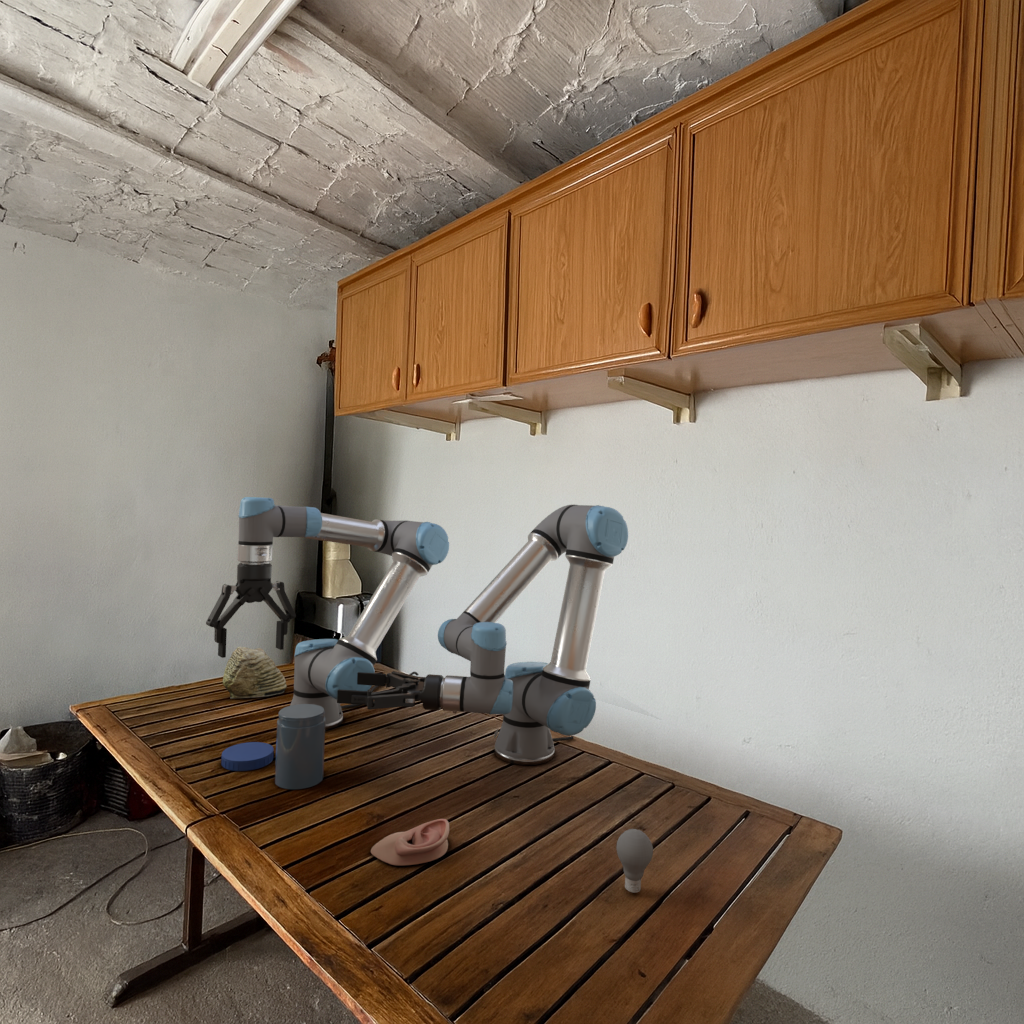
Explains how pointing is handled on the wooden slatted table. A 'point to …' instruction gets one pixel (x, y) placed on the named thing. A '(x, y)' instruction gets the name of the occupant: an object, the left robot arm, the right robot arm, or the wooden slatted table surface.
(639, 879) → the light bulb
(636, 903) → the wooden slatted table surface
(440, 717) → the wooden slatted table surface
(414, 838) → the anatomical model
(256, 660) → the fossil
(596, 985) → the wooden slatted table surface
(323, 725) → the jar
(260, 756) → the lid
